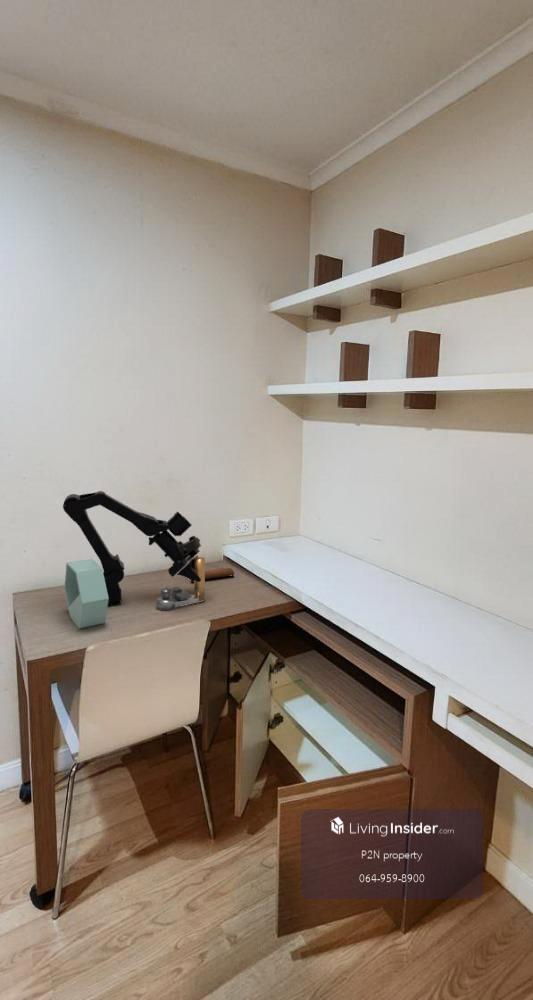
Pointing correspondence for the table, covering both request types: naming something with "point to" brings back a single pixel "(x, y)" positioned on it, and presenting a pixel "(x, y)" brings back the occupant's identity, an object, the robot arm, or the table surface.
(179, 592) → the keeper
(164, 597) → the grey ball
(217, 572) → the sunglasses case
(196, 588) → the link
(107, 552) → the robot arm
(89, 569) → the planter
